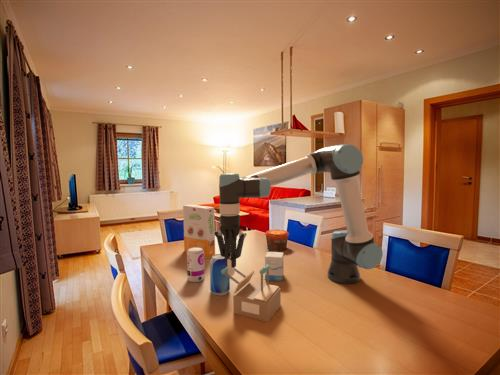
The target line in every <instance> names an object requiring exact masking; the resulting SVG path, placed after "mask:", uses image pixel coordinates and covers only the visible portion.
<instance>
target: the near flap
mask: <svg viewBox="0 0 500 375" xmlns="http://www.w3.org/2000/svg"><path fill="white" fill-rule="evenodd" d="M269 268H270V266H269V265H266V266H265V265H264V266H263V267H262V268H261V269H260V270H259V274H260V284H261V291H260V292H259V293H258V294H257V295H256V296H255V297H254V299H256V300H260V301H265V302H267V301H268V300H269V299H270V297H271V296H272V295H273V294H274V293H275V291H276V290H277V289H278V288H280V286H279V285H274V284H270V280H269ZM266 271H267V280H266V284H265V285H266V286H265V287H264V288H263V285H264V275H265V272H266Z"/></svg>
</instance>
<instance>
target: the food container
mask: <svg viewBox="0 0 500 375" xmlns="http://www.w3.org/2000/svg"><path fill="white" fill-rule="evenodd" d="M264 235H265V237H266V247H267V249H269V250H271V251H283V250H286V249H287V248H288V238H289V236H290V233H289V232H288V231H287V230H284V229H283V230H282V229H270V230H269V229H268V230H266V232H264Z"/></svg>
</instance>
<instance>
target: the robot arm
mask: <svg viewBox="0 0 500 375" xmlns="http://www.w3.org/2000/svg"><path fill="white" fill-rule="evenodd" d="M363 164H364V157H363V153H362V152H361V150H360V149H359V148H358V147H357V146H355V145H353V144H349V143H342V144H337V145H329V146H325V147H322V148H320V149H318V150H314V151H312V152H310V153H307V154H306V155H305V156H304V157H302V158H299V159H296V160H293V161H290V162H286V163H284V164H281V165H277V166H275V167H271V168H269V169H265V170H262V171H259V172H256V173H253V174H251V175H247V176H240V174H239V173H234V172H233V173H227V172H226V173H221V174H220V175H219V177H218V178H219V182H218V189H219V190H218V191H219V192H218V194H219V214H220V215H219V224H220V227H219V229H218V230H217V231H215V233H214V234H215V238H216V239H217V245H218V249H219V254H221V256H222V257H225V259H226V267H228V274H229V275H230V276H231V277H233V276H234V275H235V271H234V268H236V266H237V259H239V258H240V257H241V256H242V252H243V247H244V242H245V238H246V237H247V233H246V232H243V231H242V229H241V226H240V225H241V215H240V213H241V210H240V209H241V208H240V204H241V203H240V201H241V200H240V199H246V198H247V199H249V198H251V199H252V198H254V199H255V198H261V199H262V198H267V197H269V196H270V194H271V190H272V187H274V186H277V185H279V184H282V183H286V182H288V181H291V180H295V179H298V178H300V177H303V176H307V175H308V174H310V175H316V174H320V173H329V174H330V179H331V181H333V182H334V183H336V188H337V192H338V197H339V201H340V204H341V205H340V206H341V210H342V214H343V218H344V224H345V226H346V228H345V229H346V230H334V231H333V232H332V233H331V238H330V240H331V250H330V251H331V252H330V253H331V259H330V264H329V266H328V268H327V278H328V279H329V280H331V281H333V282H336V283H338V284H346V285H350V284H351V285H352V284H356V283H358V282H360V280H361V274H360V270H359V268H362V269H364V270H372V269H375V268H376V267H377V266H379V264H380V262H381V261H382V259H383V255H384V254H383V249H382V246H381V245H379V244H378V243H376V242H375V237H374V234H373V233H372V232H370V231H369V226H368V223H367V222H368V221H367V218H366V213H365V208H364V204H363V200H362V195H361V189H360V185H359V180H358V178H359V177H360V174H361V171H360V169H361V168H362V166H363Z"/></svg>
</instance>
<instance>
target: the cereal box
mask: <svg viewBox="0 0 500 375" xmlns="http://www.w3.org/2000/svg"><path fill="white" fill-rule="evenodd" d="M182 215H183V217H182V218H183V243H184V244H183V248H184V251H183V252H186V253H187V251H188V249H189V248H193V247H200V248H202V249H203V251H204V259H208V258H212V256H213V255H215V254H216V240H215V238H216V236H215V234H214V233H215V232H216V231H215V230H216V229H215V227H216V226H215V225H216V224H215V207H213V206H206V205H205V206H204V205H198V204H183V205H182Z"/></svg>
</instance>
